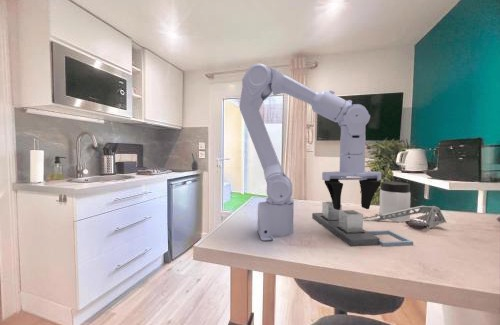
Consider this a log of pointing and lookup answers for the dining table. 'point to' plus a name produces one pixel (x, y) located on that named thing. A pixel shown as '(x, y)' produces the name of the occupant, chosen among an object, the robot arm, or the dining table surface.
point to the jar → (395, 199)
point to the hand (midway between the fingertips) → (351, 208)
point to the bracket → (423, 209)
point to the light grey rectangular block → (350, 221)
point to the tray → (403, 241)
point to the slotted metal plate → (349, 239)
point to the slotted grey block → (330, 212)
